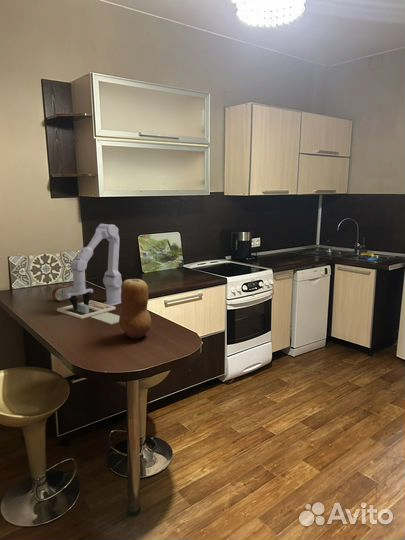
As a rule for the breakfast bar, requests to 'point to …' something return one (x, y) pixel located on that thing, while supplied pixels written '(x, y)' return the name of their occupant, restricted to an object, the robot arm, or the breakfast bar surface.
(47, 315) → the breakfast bar surface
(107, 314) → the mat
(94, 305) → the offcut upper
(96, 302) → the rack
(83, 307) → the grey rectangular block
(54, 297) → the tin
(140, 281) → the butternut squash
